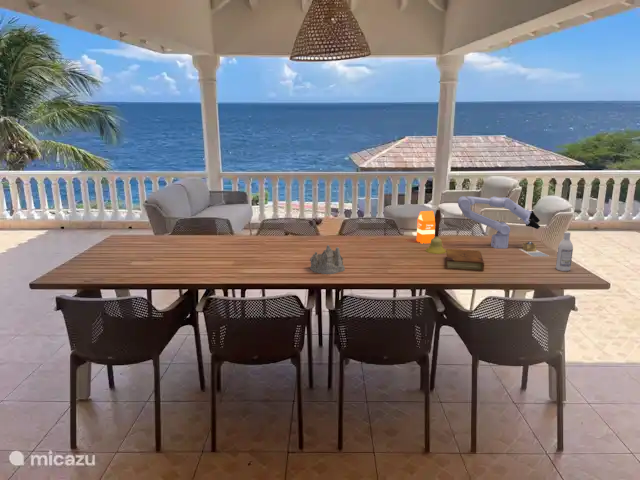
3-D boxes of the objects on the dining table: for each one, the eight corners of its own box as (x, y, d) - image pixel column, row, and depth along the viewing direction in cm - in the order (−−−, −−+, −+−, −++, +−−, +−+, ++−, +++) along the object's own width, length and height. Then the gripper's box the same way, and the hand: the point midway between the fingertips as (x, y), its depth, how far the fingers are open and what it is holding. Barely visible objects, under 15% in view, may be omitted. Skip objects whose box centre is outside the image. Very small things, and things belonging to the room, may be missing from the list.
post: (528, 252, 297) (529, 242, 296) (526, 251, 299) (527, 241, 298) (531, 252, 297) (533, 242, 296) (529, 251, 300) (530, 241, 298)
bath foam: (573, 270, 262) (578, 233, 257) (562, 271, 260) (566, 234, 255) (563, 267, 268) (567, 230, 263) (552, 268, 266) (557, 231, 261)
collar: (527, 251, 295) (527, 245, 294) (522, 249, 300) (522, 242, 299) (536, 251, 296) (536, 244, 295) (531, 248, 301) (531, 242, 300)
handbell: (450, 252, 297) (453, 210, 291) (434, 254, 291) (436, 212, 285) (437, 247, 307) (439, 207, 302) (421, 249, 302) (423, 208, 296)
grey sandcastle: (349, 270, 261) (347, 242, 258) (322, 276, 252) (320, 247, 249) (332, 265, 274) (330, 238, 271) (306, 271, 266) (304, 243, 262)
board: (532, 258, 285) (533, 256, 284) (518, 250, 301) (518, 248, 301) (549, 257, 286) (549, 255, 285) (533, 250, 302) (534, 248, 302)
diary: (483, 272, 260) (484, 262, 259) (446, 270, 264) (447, 259, 263) (480, 260, 282) (480, 250, 281) (445, 258, 286) (446, 248, 285)
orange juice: (416, 240, 324) (417, 210, 320) (428, 240, 326) (430, 209, 322) (421, 243, 317) (423, 212, 312) (434, 242, 319) (436, 211, 314)
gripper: (524, 212, 291) (543, 226, 291) (524, 201, 303) (543, 214, 303) (516, 221, 295) (535, 234, 296) (516, 209, 307) (535, 222, 307)
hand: (538, 224), depth 300 cm, fingers open, 7 cm apart
